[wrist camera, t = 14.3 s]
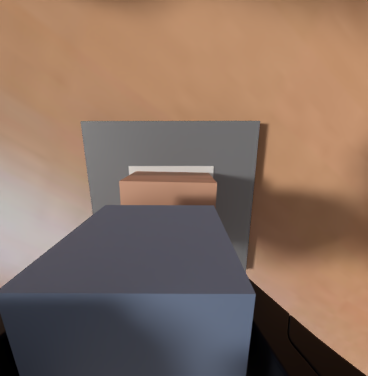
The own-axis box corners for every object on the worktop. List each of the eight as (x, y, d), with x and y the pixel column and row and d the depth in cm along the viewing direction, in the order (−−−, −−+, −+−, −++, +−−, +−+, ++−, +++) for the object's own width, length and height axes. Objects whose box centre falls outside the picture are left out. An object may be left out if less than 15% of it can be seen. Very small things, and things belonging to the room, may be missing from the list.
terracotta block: (136, 171, 15) (119, 181, 11) (208, 172, 15) (217, 182, 11) (139, 236, 16) (124, 265, 12) (205, 237, 16) (211, 267, 12)
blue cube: (105, 205, 8) (-7, 293, 3) (213, 205, 8) (255, 293, 3) (115, 294, 10) (43, 452, 5) (209, 294, 9) (236, 453, 5)
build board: (87, 122, 15) (79, 121, 14) (255, 122, 15) (260, 120, 14) (105, 267, 18) (100, 275, 17) (242, 267, 18) (245, 275, 17)
